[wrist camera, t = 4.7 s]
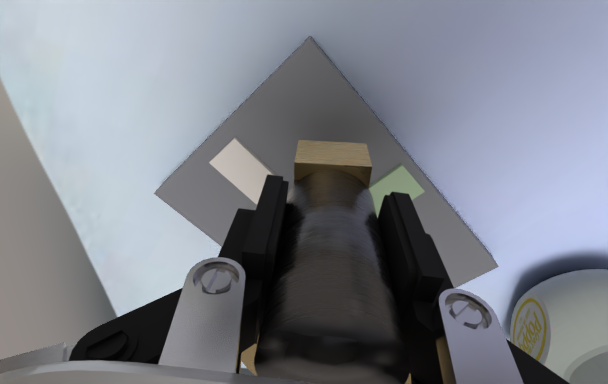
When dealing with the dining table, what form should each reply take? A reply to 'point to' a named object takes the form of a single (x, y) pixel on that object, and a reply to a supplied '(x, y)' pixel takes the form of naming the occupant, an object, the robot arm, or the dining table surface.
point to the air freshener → (566, 325)
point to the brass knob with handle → (330, 279)
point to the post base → (282, 151)
